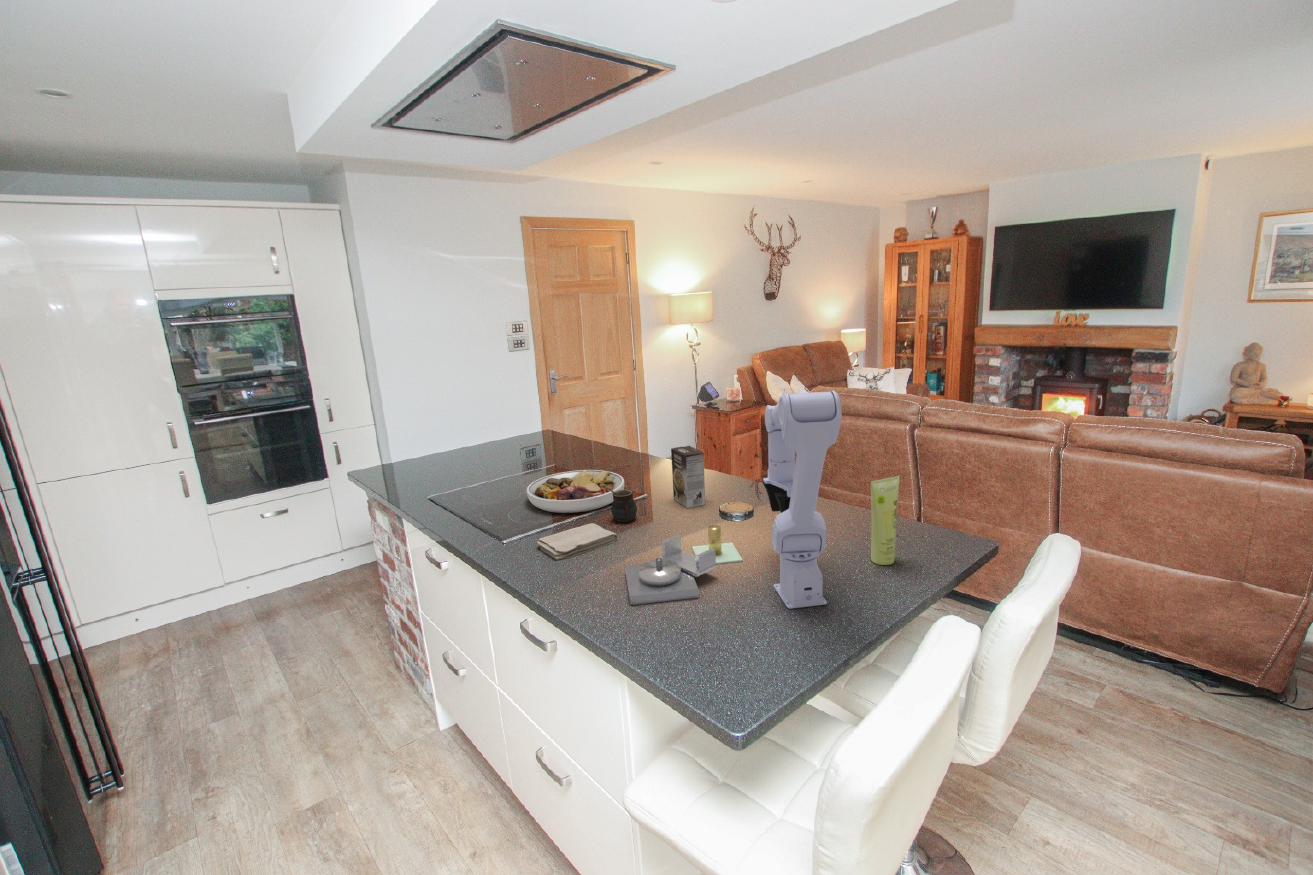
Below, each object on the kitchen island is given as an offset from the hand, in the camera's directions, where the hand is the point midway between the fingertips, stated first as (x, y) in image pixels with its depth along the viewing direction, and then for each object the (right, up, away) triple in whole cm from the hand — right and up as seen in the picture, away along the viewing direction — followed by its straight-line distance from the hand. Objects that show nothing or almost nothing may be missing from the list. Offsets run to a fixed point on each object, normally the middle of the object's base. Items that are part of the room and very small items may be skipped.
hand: (781, 516), depth 135 cm
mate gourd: (-37, -5, +32) cm, 49 cm away
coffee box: (-19, -2, +43) cm, 46 cm away
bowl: (-53, -2, +52) cm, 74 cm away
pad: (-14, -10, +7) cm, 18 cm away
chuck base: (-27, -14, -6) cm, 31 cm away
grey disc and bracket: (-25, -11, -5) cm, 28 cm away
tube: (+22, -10, -1) cm, 24 cm away
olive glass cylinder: (-14, -9, +7) cm, 18 cm away
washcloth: (-48, -10, +18) cm, 53 cm away
